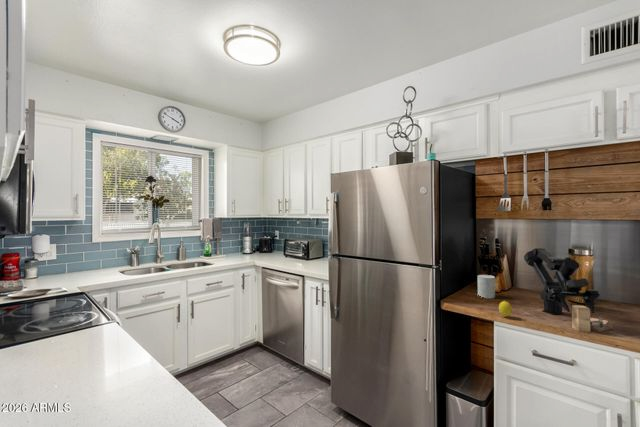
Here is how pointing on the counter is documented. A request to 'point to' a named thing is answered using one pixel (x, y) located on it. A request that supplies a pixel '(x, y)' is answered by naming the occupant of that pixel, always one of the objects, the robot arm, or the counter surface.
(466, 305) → the counter surface
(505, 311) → the lemon
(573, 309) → the oak block
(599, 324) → the wire stand
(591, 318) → the pad
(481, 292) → the white cylinder
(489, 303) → the counter surface
